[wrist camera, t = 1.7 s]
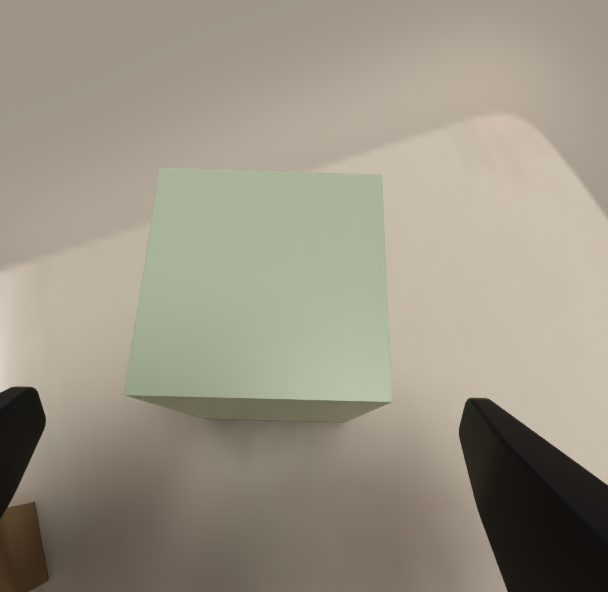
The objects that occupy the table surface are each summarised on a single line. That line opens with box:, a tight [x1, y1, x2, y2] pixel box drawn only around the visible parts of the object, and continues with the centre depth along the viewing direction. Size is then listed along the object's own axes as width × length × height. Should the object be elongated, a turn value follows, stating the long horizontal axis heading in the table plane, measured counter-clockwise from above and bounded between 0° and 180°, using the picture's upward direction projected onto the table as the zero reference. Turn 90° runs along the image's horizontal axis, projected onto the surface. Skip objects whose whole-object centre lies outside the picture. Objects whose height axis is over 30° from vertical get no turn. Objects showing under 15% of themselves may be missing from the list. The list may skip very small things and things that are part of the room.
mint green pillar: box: [124, 168, 392, 422], centre depth 16 cm, size 6×6×10 cm
